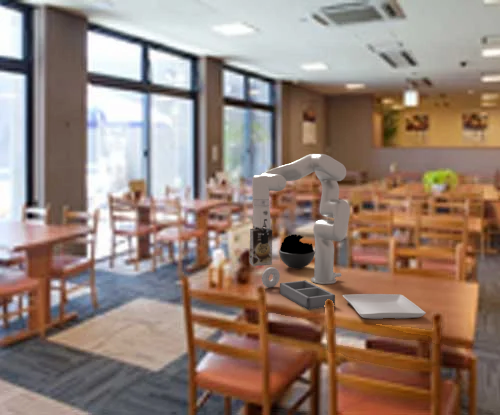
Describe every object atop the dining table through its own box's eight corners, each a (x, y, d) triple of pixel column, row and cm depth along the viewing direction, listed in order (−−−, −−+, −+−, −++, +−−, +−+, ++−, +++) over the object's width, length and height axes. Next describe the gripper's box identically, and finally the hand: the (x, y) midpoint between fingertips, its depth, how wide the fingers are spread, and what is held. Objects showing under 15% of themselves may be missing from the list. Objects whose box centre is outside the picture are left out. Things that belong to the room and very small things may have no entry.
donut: (264, 289, 243) (264, 269, 242) (260, 288, 246) (260, 267, 245) (280, 286, 249) (281, 266, 247) (276, 285, 252) (277, 265, 250)
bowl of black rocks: (296, 262, 301) (297, 231, 299) (321, 269, 286) (322, 235, 284) (271, 267, 288) (272, 234, 286) (296, 274, 273) (297, 239, 271)
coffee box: (253, 266, 227) (253, 230, 225) (249, 263, 233) (249, 228, 231) (272, 265, 230) (272, 229, 228) (268, 261, 236) (268, 227, 234)
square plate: (426, 321, 202) (427, 312, 201) (359, 322, 200) (359, 313, 199) (401, 301, 229) (401, 292, 228) (341, 301, 226) (341, 293, 226)
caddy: (279, 293, 237) (280, 283, 236) (304, 290, 242) (305, 280, 242) (307, 309, 214) (307, 298, 213) (334, 306, 219) (335, 294, 218)
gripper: (277, 204, 222) (277, 244, 224) (260, 200, 237) (260, 238, 240) (261, 205, 219) (261, 246, 221) (245, 201, 234) (245, 239, 237)
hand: (260, 241), depth 230 cm, fingers closed on coffee box, 6 cm apart
